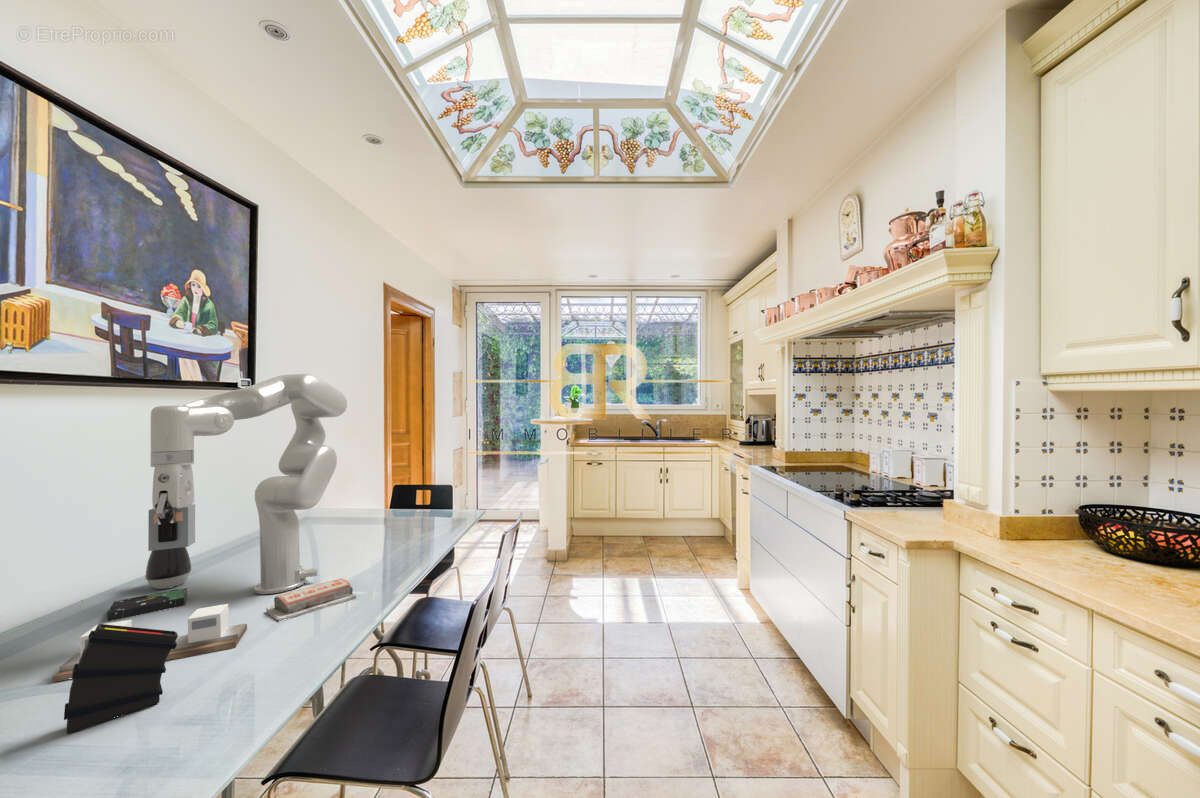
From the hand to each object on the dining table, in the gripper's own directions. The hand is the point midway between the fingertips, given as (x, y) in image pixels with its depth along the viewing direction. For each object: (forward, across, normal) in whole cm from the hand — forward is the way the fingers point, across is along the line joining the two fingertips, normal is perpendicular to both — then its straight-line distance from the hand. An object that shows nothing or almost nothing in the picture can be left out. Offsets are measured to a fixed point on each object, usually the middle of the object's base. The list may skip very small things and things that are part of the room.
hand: (172, 538), depth 111 cm
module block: (+2, 0, 0) cm, 2 cm away
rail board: (+22, -11, -1) cm, 24 cm away
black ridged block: (+22, -34, -5) cm, 41 cm away
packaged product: (+22, +4, -27) cm, 35 cm away
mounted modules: (+20, -11, -1) cm, 23 cm away
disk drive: (+22, +24, +12) cm, 35 cm away
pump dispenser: (+21, +43, +15) cm, 50 cm away
